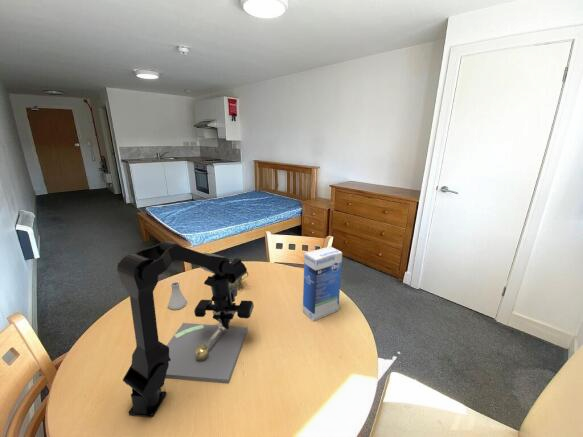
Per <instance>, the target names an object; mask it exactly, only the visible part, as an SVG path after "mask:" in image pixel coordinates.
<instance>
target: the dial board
mask: <svg viewBox="0 0 583 437" xmlns="http://www.w3.org/2000/svg"><path fill="white" fill-rule="evenodd" d="M218 329H219V324H217V325H216V324H203V323H193V322H192V323H191V322H182V324H181V326H180V327H179V328H178V329H177V330H176V331H175V333H174V335H173V336H172V337H171V339H170V340H169V342H168V343H167V344H165V345H166V346H168V347H169V357H170V359H171V361H169V367H168V369H167V372H166V377H165V379H167V378H168V379H178V380H190V381H200V382H209V383H210V382H211V383H222V384H229V383H230V380H231V378H232V375H233V372H234V369H235V368H236V364H237V362H238V358H239V356H240V353H241V350H242V348H243V344H244V343H245V342H244V341H245V339H246V336H247V333H248V331H249V330H248V329H249V328H248V327H245V326H232V325H229V328H228V329H227V331H226V333H223V334H222V335H221V336H220V338H219V339H218V340H217V341H216V342H215V344H214V345H213V346H212V347H211V349H210V350H209V351H208V357H207V358H206V359H205V360H203V361H198V360H197V359H196V354H195V349H196V347H197V346H199V345H203V344H204V345H205V344H206V343H207V342H208V341H209V339H210V338H211V337H212V336H213V335H214V334H215V332H216V331H217V330H218Z"/></svg>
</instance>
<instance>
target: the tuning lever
mask: <svg viewBox="0 0 583 437" xmlns="http://www.w3.org/2000/svg"><path fill="white" fill-rule="evenodd" d="M218 325H219V329H218V330H217V331H216V332H215V334H214V335H213V336H212V337H211V338H210V339H209V341H208V342H207V343H206V344H205V345H204V344H203V345H199V346H197V347H196V349H195V354H196V359H197V360H198V361H203V360H205V359H206V358H207V357H208V351H209V350H210V349H211V347H212V346H213V345H214V344H215V342H216V341H217V340H218V339H219V338H220V336H221V335H222V334H223V333H226V331H227V329H226V328H225V327H224V326H223V325H222V324H221V323H220V322H218Z"/></svg>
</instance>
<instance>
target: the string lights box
mask: <svg viewBox="0 0 583 437" xmlns="http://www.w3.org/2000/svg"><path fill="white" fill-rule="evenodd" d="M303 255H304V256H303V258H304V259H303V287H302V288H303V290H302V291H303V293H302V295H303V296H302V313H304V315H306V316H307V317H308V318H309V319H310V320H311V322H314V321H317V320H319V319H322V318H324V317H326V316H329V315H332V314H334V313H336V312H338V311H339V310H340V309H339V307H340V306H339V305H340V290H341V289H340V288H341V279H342V278H341V276H342V265H343V252H342V251H340V250H339V249H337V248H334V247H333V246H326V247H323V248H318V249H314V250H311V251H307V252H304V254H303Z"/></svg>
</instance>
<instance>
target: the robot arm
mask: <svg viewBox="0 0 583 437" xmlns="http://www.w3.org/2000/svg"><path fill="white" fill-rule="evenodd" d="M174 261H181V262H185V263H187V264H191V265H195V266H198V267H199V268H200V269H202V270H204V271H206V272H208V273H210V274H211V273H212V275H209V276H207V278H206V280H205V281H204V283H203V284H204V285H206V286H209V287H210V288H211V289H210V290H211V293H212V297H211V299H200V300H199V301H198V303H197V304H196V306H195V308H194V311H193V312H194V316H195V317H196V318H203V317H205V316H206V315H207V313H206V311H209V312H212V314H213V315H212V319H213V320H216V321H217V322H218V323H221V324H222V325H223V326H224V327H225V328H226V329H228V328H229V326H230V323H231V320H233V319H234V316H235V314H236V315H237V317H238V318H239V319H249V318H251V316H252V313H253V309H254V307H255V306H254V302H253V301H252V300H240V303H239V304H237V303H236V297H237V296H238V290H237V287H236V286H230V285H229V282H230V283H235V282H236V281H237V280H238V279H240V278H241V277H242V278H243V277H244V276H245V275H247V273H246V272H248V270H247V269H248V268H247V267H246V266H245V264H244V263H243V262H242V259H241V258H238V257H235V258H234V259H233V260H232V261H230V259H229V258H228V257H225V256H221V255H219V254H216V253H210V252H205V253H203V252H199V251H196V250H193V249H191V248H187V247H184V246H181V245H180V244H178V243H176V242H173V241H169V240H165V241H162V242H161V241H160V243H158V244H156V245H153V246H150V247H147V248H143V249H141V250H138V251H137V252H135V253H131V254H130V253H129V254H127V255H125V256H124V257H122V259H121V260H120V261H119V262H118V263H117V268H116V270H117V274H118V277H119V279H120V281H121V283H122V285H123V287H124V288H125V290H126V292H127V294H128V296H129V299H130V300H129V301H130V306H131V307H130V308H131V314H132V316H131V317H132V323H133V328H134V329H133V330H134V337H135V343H136V344H135V345H136V347H135V349H134V350H133V353H132V355H131V365H130V366H129V368H128V370H127V371H126V373H125V375H124V376H123V379H122V381H123V383H124V384H125V385H127V386H129V387H130V388H131V394H130V396H131V402H132V406H131V408H130V409H129V410H128V415H129V416H137V417H138V416H139V417H148V418H152V417H154V416H155V414H157V411H158V409H159V407H160V406H161V404H162V403H163V400H164V399H165V397H166V396H167V391H162V387H164V385H165V382H166V378H165V377H166V372H167V369H168V367H169V361H171V359H170V357H169V347H168V346H166V345H167V344H165V343H163V342H161V341H159V333H158V323H157V314H156V306H155V297H154V291H155V289H156V286H157V285H158V283H159V275H162V274H163V273H165V272H166V271H167V270H168V268H169V267H170V266H171V264H172V263H173V262H174Z"/></svg>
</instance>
